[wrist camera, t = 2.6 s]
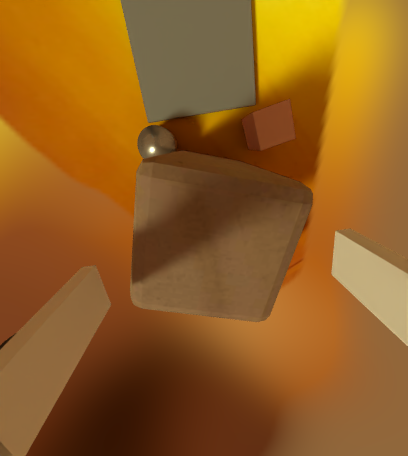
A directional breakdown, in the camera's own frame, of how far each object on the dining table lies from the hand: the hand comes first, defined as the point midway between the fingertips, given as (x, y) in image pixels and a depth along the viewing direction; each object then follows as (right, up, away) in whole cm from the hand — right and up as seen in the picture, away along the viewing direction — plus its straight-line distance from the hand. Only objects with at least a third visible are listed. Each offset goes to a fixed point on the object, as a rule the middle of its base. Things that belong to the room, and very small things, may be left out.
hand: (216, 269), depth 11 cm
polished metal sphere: (-7, +14, +17) cm, 23 cm away
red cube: (+7, +16, +16) cm, 24 cm away
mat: (-2, +24, +13) cm, 27 cm away
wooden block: (-1, +8, +19) cm, 21 cm away
